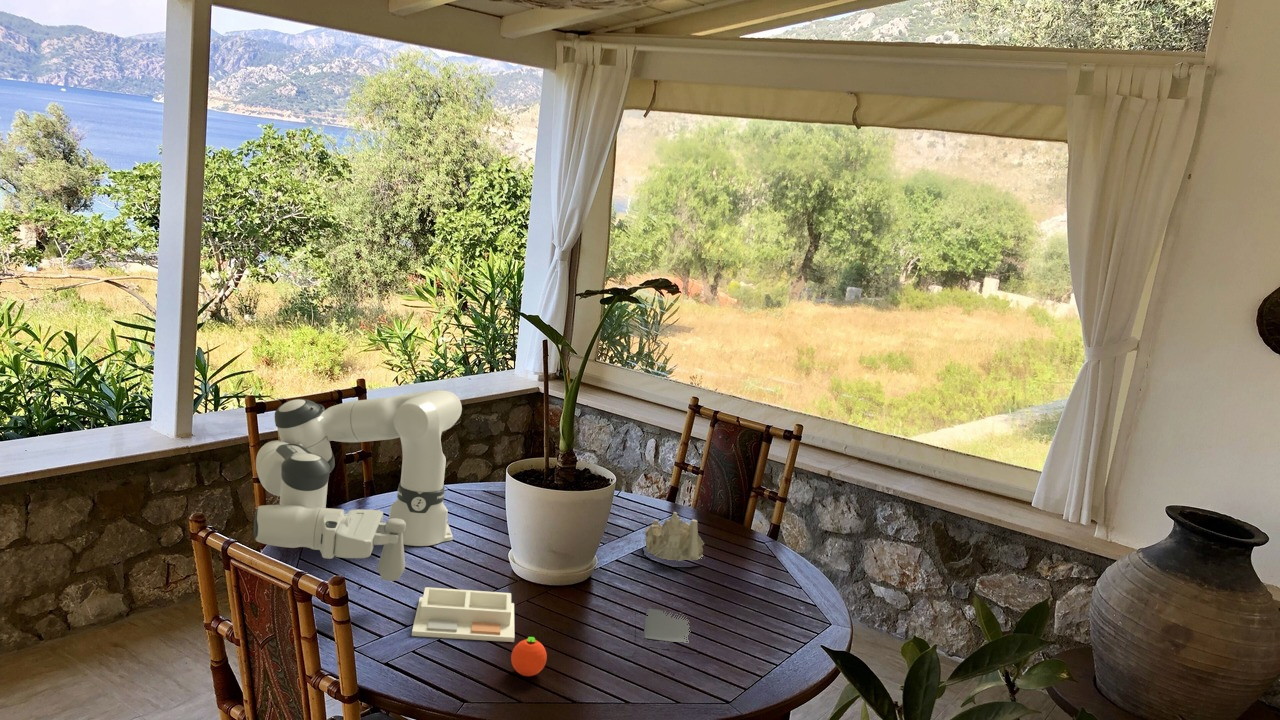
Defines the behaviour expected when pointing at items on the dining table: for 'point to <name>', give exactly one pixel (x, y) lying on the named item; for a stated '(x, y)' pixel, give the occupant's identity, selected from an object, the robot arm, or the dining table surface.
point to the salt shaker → (393, 552)
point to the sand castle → (674, 540)
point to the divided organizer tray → (465, 615)
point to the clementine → (529, 657)
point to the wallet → (665, 627)
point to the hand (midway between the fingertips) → (399, 535)
